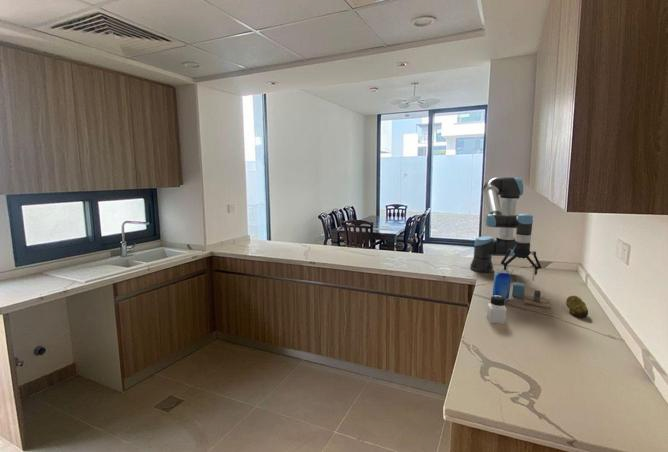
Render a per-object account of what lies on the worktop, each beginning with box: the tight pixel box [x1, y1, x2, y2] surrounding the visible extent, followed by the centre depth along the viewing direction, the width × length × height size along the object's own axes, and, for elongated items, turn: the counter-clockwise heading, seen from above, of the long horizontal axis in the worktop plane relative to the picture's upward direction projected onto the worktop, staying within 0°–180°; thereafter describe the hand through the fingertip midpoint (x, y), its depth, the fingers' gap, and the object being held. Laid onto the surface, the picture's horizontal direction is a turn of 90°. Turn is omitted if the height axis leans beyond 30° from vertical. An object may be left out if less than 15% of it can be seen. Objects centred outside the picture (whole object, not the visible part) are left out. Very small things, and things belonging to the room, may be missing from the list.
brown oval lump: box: [565, 295, 589, 318], centre depth 179 cm, size 8×13×8 cm, turn 156°
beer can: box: [492, 268, 512, 302], centre depth 198 cm, size 8×8×16 cm
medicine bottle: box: [486, 295, 508, 325], centre depth 171 cm, size 7×7×12 cm
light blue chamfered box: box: [511, 281, 525, 298], centre depth 204 cm, size 6×6×7 cm
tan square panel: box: [523, 289, 551, 310], centre depth 193 cm, size 12×12×6 cm
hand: (519, 278), depth 202 cm, fingers open, 13 cm apart
